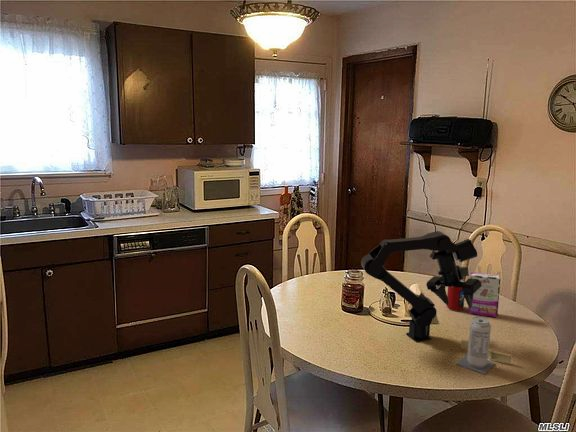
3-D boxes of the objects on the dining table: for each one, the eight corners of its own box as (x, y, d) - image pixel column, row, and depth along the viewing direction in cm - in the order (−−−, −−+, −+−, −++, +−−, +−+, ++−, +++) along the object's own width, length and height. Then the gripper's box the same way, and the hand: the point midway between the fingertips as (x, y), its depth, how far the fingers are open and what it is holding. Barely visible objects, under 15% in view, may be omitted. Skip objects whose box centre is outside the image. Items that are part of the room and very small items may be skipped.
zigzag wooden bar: (458, 349, 162) (459, 341, 161) (463, 346, 165) (463, 337, 164) (508, 366, 151) (509, 357, 151) (512, 362, 154) (513, 353, 153)
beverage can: (464, 312, 194) (467, 284, 191) (447, 310, 195) (449, 282, 193) (462, 306, 200) (464, 278, 198) (445, 304, 201) (447, 277, 199)
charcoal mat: (484, 374, 146) (484, 373, 146) (456, 364, 152) (456, 363, 152) (495, 364, 153) (495, 362, 152) (467, 354, 159) (467, 353, 158)
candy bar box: (497, 313, 193) (500, 274, 189) (497, 318, 188) (501, 278, 185) (467, 309, 197) (470, 271, 193) (467, 313, 192) (470, 274, 189)
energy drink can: (488, 362, 153) (492, 318, 150) (485, 370, 148) (490, 325, 145) (468, 357, 156) (472, 314, 153) (465, 365, 150) (469, 321, 147)
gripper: (483, 256, 163) (494, 297, 167) (437, 255, 178) (447, 292, 181) (467, 271, 157) (479, 313, 160) (420, 269, 172) (432, 307, 175)
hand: (459, 305), depth 169 cm, fingers open, 9 cm apart
